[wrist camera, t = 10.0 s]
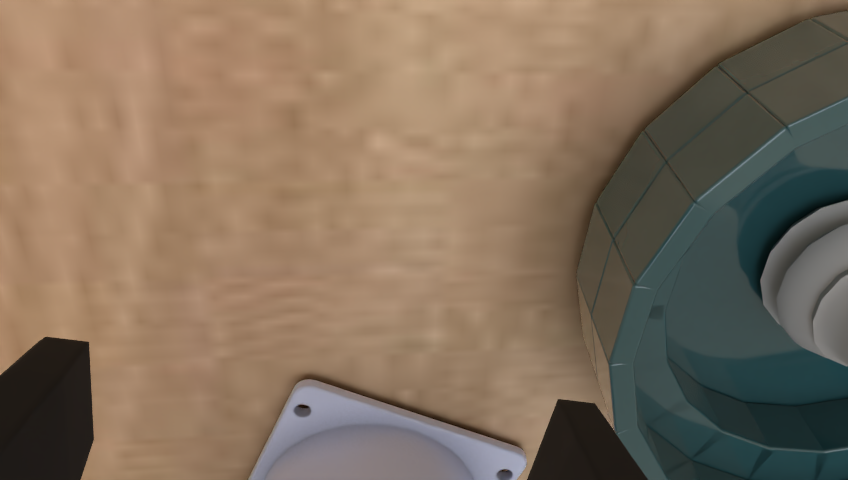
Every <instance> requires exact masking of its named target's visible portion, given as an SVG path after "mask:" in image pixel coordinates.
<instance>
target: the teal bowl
mask: <svg viewBox="0 0 848 480" xmlns="http://www.w3.org/2000/svg"><path fill="white" fill-rule="evenodd" d="M845 200H848V11H843V12H838V13H833V14H828V15H823V16H817V17H813V18H811V20H810V19H807V20H805V21H803V22H801V23H799V24H797V25H795V26H793V27H791V28H789V29H787V30H785V31H783V32H781V33H779V34H777V35H775V36H773V37H771V38H769V39H767V40H765V41H763V42H761V43H759V44H757V45H755V46H753V47H751V48H749V49H747V50H745V51H743V52H741V53H739V54H737V55H735V56H733V57H731V58H729V59H727V60H725V61H723V62H721V63H719V64H718V67H717V66H716V67H714V68H713V69H711V70H710V71H709V72H708V73H707V74H706V75H705V76H703V77H702V78H701V79H700V80H699V81H698V82H697V83H695V84H694V85H693V86H692V87H691V88H690V89H689V90H688V91H686V92H685V93H684V94H683V95H682V96H681V97H680V98H678V99H677V100H676V101H675V102H674V103H673V104H672V105H671V106H669V107H668V108H667V109H666V110H665V111H664V112H663V113H661V114H660V115H659V116H658V117H657V118H656V119H655V120H653V121H652V122H651V123H650V124H649V125H648V126H647V127H646V128H645V131H642V132H641V133H640V135H639V136H638V138H637V140H636V141H635V143H634V144H633V146H632V147H631V149H630V150H629V152H628V153H627V155H626V157H625V158H624V160H623V161H622V163H621V164H620V166H619V167H618V169H617V170H616V172H615V173H614V175H613V177H612V178H611V180H610V181H609V183H608V184H607V186H606V187H605V189H604V190H603V192H602V194H601V195H600V197H599V198H598V200H597V203H595V205H594V209H593V213H592V216H591V220H590V224H589V228H588V231H587V235H586V239H585V243H584V246H583V250H582V254H581V258H580V262H579V265H578V269H577V275H576V278H577V287H578V296H579V306H580V315H581V324H582V333H583V338H584V341H585V344H586V347H587V350H588V353H589V356H590V359H591V362H592V365H593V368H594V371H595V374H596V377H597V380H598V383H599V386H600V389H601V392H602V395H603V398H604V401H605V404H606V407H607V410H608V413H609V416H610V419H611V422H612V425H613V428H614V431H615V433H616V435H617V436H618V437H619V439H620V440H621V442H622V443H623V445H624V446H625V447H626V449H627V450H628V452H629V453H630V455H631V456H632V457H633V459H634V460H635V462H636V463H637V465H638V466H639V467H640V469H641V470H642V472H643V473H644V474H645V476H646V477H647V479H648V480H848V366H844V365H842V364H840V363H838V362H835V361H833V360H831V359H828V358H825V357H823V356H820V355H818V354H816V353H814V352H811V351H809V350H807V349H805V348H803V347H801V346H800V345H798V344H797V343H795V342H794V341H793V340H792V339H791V337H790V336H789V335H788V333H787V332H786V331H785V330H784V328H783V327H782V326H781V325H780V324H778V323H777V322H776V320H775V319H774V318H773V317H772V315H771V314H770V313H769V311H768V310H767V309H766V308H765V306H764V305H763V298H762V290H761V282H760V280H761V277H762V274H763V271H764V268H765V265H766V263H767V260H768V257H769V254H770V252H771V250H772V248H773V246H774V245H775V244H776V242H777V241H778V240H779V239H780V238H781V237H782V235H783V234H784V233H785V232H786V231H787V229H788V228H789V227H790V226H791V225H792V224H793V223H795V222H797V221H798V220H800V219H801V218H803V217H804V216H806V215H808V214H809V213H811V212H812V211H814V210H815V209H817V208H821V207H824V206H828V205H831V204H835V203H838V202H842V201H845Z"/></svg>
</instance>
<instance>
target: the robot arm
mask: <svg viewBox="0 0 848 480" xmlns="http://www.w3.org/2000/svg"><path fill="white" fill-rule="evenodd" d="M300 404H303V405H307V406H309V407H308V408H300V407H298V406H297V405H300ZM93 440H94V435H93V415H92V395H91V375H90V355H89V342H85V341H77V340H68V339H60V338H52V337H45V338H43V339H42V340H40V341H39V342H38V343H37V344H35V345H34V346H33V347H32V348H31V349H30V350H28V351H27V352H26V353H25V354H24V355H23V356H22V357H21V358H19V359H18V360H17V361H16V362H15V363H14V364H13V365H11V366H10V367H9V368H8V369H7V370H6V371H5V372H3V373H2V374H1V375H0V480H80V479H81V476H82V473H83V470H84V467H85V464H86V461H87V458H88V455H89V452H90V449H91V446H92V443H93ZM526 465H527V460H526V455H525V452H524V451H523V449H521V448H519V447H517V446H514V445H511V444H508V443H505V442H502V441H499V440H496V439H493V438H490V437H487V436H484V435H481V434H478V433H475V432H472V431H468V430H465V429H462V428H459V427H456V426H453V425H450V424H447V423H444V422H441V421H438V420H435V419H432V418H429V417H426V416H423V415H420V414H417V413H414V412H411V411H408V410H405V409H402V408H399V407H396V406H392V405H389V404H386V403H383V402H380V401H377V400H374V399H371V398H368V397H365V396H362V395H359V394H356V393H353V392H350V391H347V390H344V389H341V388H338V387H335V386H332V385H329V384H326V383H323V382H320V381H317V380H311V379H306V380H302V381H300V382H298V383H297V384H296V385H295V386H294V388H293V390H292V392H291V394H290V396H289V398H288V400H287V402H286V404H285V406H284V408H283V410H282V412H281V414H280V416H279V418H278V420H277V422H276V424H275V426H274V428H273V430H272V432H271V434H270V436H269V438H268V440H267V442H266V444H265V446H264V448H263V450H262V452H261V454H260V456H259V458H258V460H257V462H256V464H255V466H254V468H253V470H252V472H251V474H250V476H249V478H248V480H517V478H518V477H519V476H520V474H521V473H522V472H523V470H524V469H525V467H526ZM503 469H507V471H500V470H503ZM527 480H648V479H647V477H646V476H645V474H644V473H643V472H642V470H641V469H640V467H639V466H638V465H637V463H636V462H635V460H634V459H633V457H632V456H631V455H630V453H629V452H628V450H627V449H626V447H625V446H624V445H623V443H622V442H621V440H620V439H619V437H618V436H617V435H616V433H615V432H614V430H613V429H612V427H611V426H610V424H609V423H608V422H607V420H606V419H605V417H604V416H603V414H602V413H601V412H600V410H599V409H598V407H597V406H596V405H595V404H594V403H586V402H577V401H569V400H561V399H558V401H557V403H556V406H555V409H554V411H553V414H552V416H551V419H550V422H549V424H548V427H547V429H546V432H545V435H544V437H543V440H542V442H541V445H540V448H539V450H538V453H537V456H536V458H535V461H534V463H533V466H532V469H531V471H530V474H529V476H528V479H527Z"/></svg>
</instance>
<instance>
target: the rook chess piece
mask: <svg viewBox="0 0 848 480" xmlns="http://www.w3.org/2000/svg"><path fill="white" fill-rule="evenodd" d="M760 282H761V290H762V298H763V305H764V306H765V308H766V309H767V310H768V311H769V313H770V314H771V315H772V317H773V318H774V319H775V320H776V322H777V323H778V324H780V325H781V326H782V327H783V328H784V330H785V331H786V332H787V333H788V335H789V336H790V337H791V339H792V340H793V341H794V342H795V343H797V344H798V345H800V346H801V347H803V348H805V349H807V350H809V351H811V352H814V353H816V354H818V355H820V356H823V357H825V358H828V359H831V360H833V361H835V362H838V363H840V364H842V365H844V366H848V200H845V201H842V202H838V203H835V204H831V205H828V206H824V207H821V208H817V209H815V210H814V211H812V212H811V213H809V214H808V215H806V216H804V217H803V218H801V219H800V220H798V221H797V222H795V223H793V224H792V225H791V226H790V227H789V228H788V229H787V231H786V232H785V233H784V234H783V235H782V237H781V238H780V239H779V240H778V241H777V242H776V244H775V245H774V246H773V248H772V250H771V252H770V254H769V257H768V260H767V263H766V265H765V268H764V271H763V274H762V277H761V280H760Z"/></svg>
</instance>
